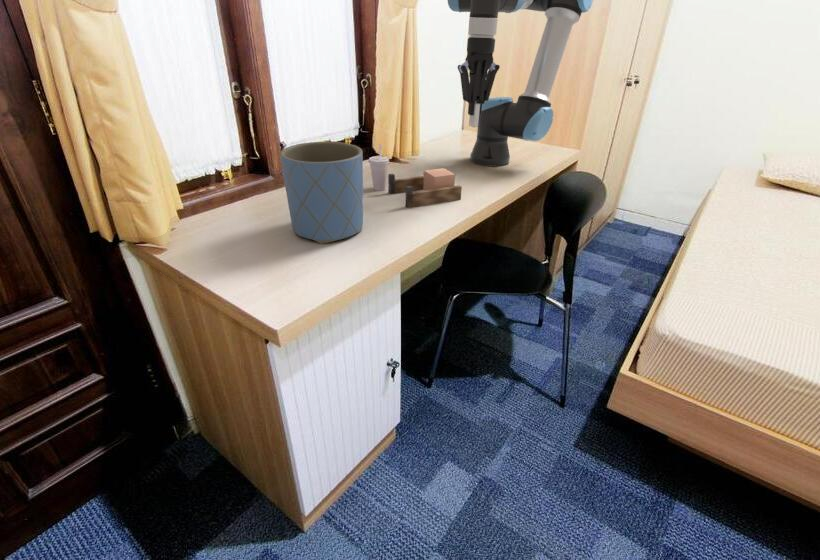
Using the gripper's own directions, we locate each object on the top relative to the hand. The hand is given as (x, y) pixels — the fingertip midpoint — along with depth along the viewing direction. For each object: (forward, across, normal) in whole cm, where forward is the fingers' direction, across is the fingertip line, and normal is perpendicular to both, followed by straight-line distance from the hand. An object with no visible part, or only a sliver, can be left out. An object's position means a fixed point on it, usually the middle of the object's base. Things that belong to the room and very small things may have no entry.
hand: (473, 126), depth 131 cm
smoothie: (+20, +26, -12) cm, 35 cm away
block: (+20, +11, 0) cm, 23 cm away
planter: (+20, +50, +12) cm, 55 cm away
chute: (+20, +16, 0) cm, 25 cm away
